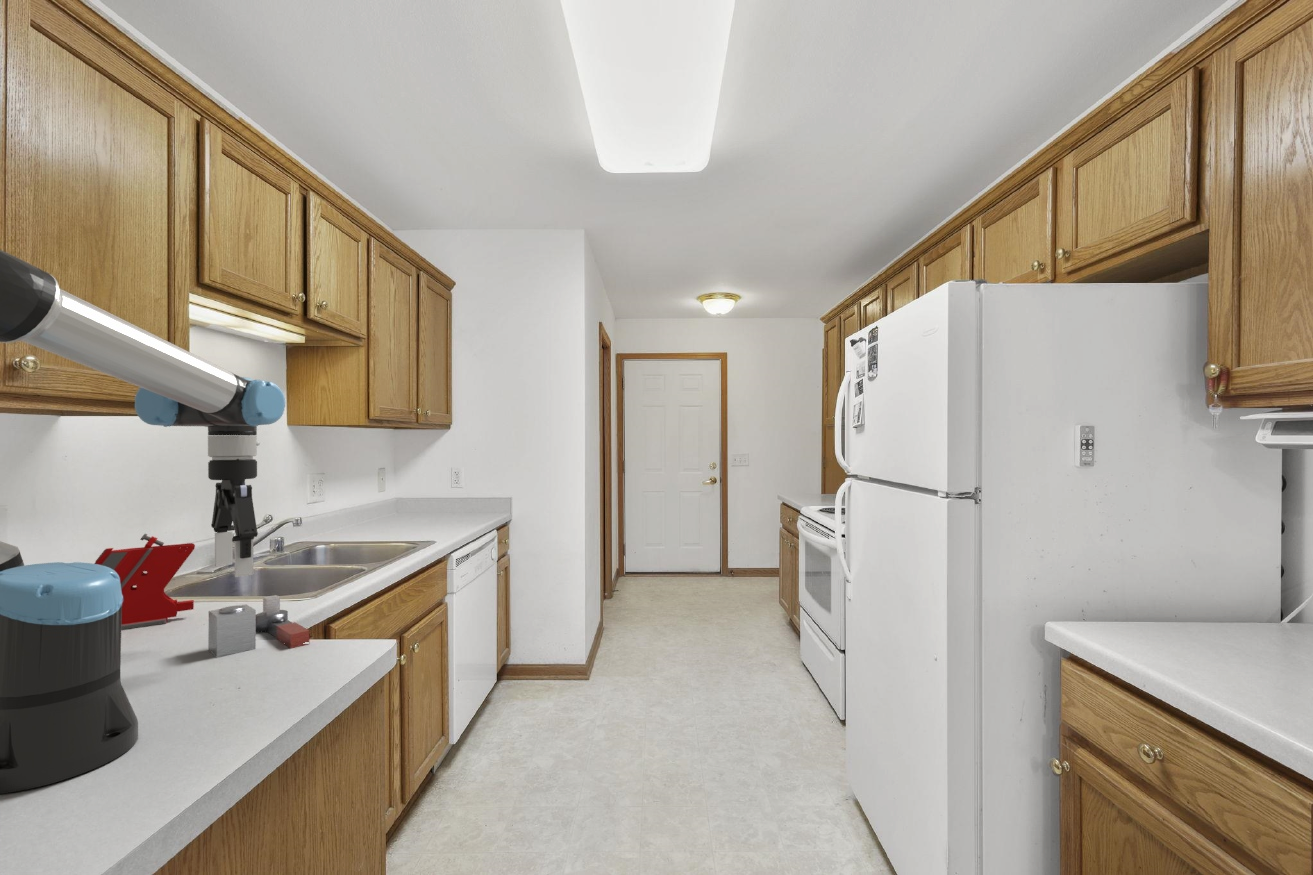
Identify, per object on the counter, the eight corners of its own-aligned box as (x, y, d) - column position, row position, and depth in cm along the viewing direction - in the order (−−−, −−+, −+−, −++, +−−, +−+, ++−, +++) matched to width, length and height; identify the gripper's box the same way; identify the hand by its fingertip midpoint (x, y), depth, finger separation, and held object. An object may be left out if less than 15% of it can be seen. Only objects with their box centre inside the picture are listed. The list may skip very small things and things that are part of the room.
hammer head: (216, 657, 106) (217, 614, 106) (208, 649, 110) (208, 608, 110) (255, 648, 111) (255, 607, 111) (246, 641, 115) (246, 602, 115)
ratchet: (282, 650, 110) (283, 615, 110) (251, 628, 123) (251, 597, 123) (316, 642, 114) (316, 608, 114) (282, 622, 127) (282, 592, 127)
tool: (13, 640, 112) (90, 518, 118) (19, 631, 116) (93, 514, 122) (163, 665, 126) (225, 555, 132) (164, 657, 130) (224, 551, 136)
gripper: (277, 459, 105) (277, 576, 105) (237, 456, 122) (238, 558, 122) (227, 460, 100) (227, 584, 100) (192, 457, 116) (193, 564, 116)
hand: (233, 570), depth 111 cm, fingers open, 13 cm apart
